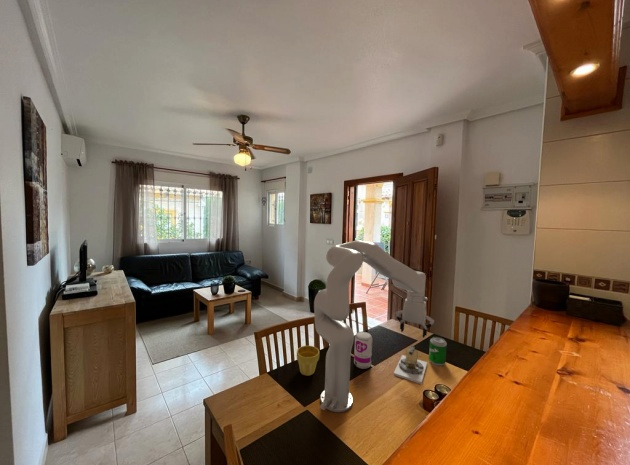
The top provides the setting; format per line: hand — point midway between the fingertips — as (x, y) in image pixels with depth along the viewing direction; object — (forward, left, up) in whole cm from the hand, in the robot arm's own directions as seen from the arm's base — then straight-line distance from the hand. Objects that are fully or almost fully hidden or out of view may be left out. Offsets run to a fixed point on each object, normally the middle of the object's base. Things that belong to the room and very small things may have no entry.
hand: (412, 333), depth 124 cm
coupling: (0, 0, -17) cm, 17 cm away
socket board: (0, 0, -18) cm, 18 cm away
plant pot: (-28, +40, -18) cm, 52 cm away
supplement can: (-9, +21, -18) cm, 29 cm away
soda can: (+13, -10, -18) cm, 24 cm away
